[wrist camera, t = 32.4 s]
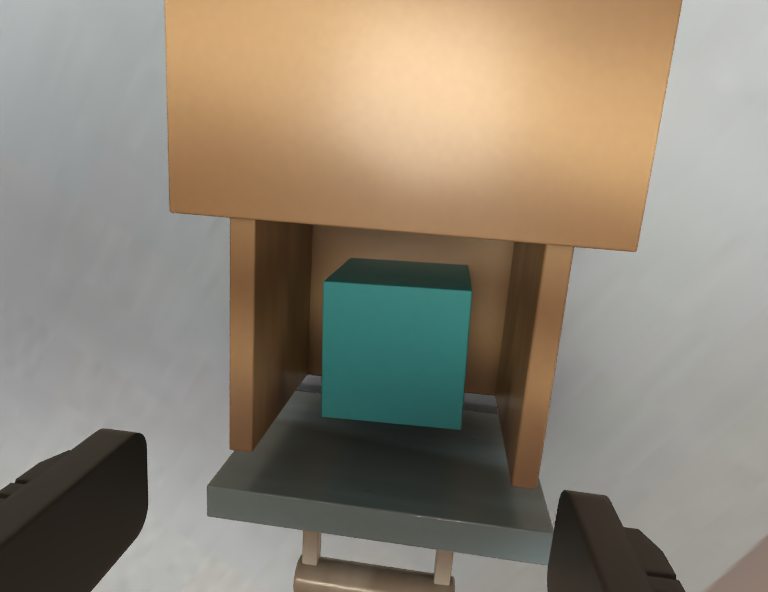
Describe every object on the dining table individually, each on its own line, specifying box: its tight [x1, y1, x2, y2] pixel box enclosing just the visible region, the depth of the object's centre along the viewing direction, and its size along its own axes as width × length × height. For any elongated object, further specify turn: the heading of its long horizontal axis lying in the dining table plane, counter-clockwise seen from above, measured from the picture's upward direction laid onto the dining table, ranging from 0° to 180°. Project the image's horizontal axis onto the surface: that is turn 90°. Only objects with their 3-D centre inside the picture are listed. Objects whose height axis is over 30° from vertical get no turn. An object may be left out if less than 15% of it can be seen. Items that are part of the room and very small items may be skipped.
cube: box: [321, 258, 472, 430], centre depth 21 cm, size 5×5×5 cm
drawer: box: [207, 218, 574, 592], centre depth 21 cm, size 18×11×8 cm, turn 176°
